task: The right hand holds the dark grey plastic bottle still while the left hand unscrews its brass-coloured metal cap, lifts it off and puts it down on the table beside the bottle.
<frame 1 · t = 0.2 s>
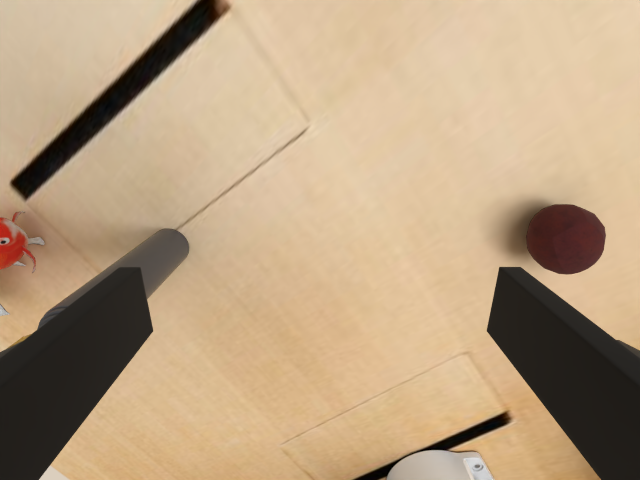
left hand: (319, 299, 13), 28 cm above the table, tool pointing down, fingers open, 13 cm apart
fish: (18, 254, 42), on the table
bottle: (170, 246, 42), on the table
dark red ball: (543, 227, 41), on the table
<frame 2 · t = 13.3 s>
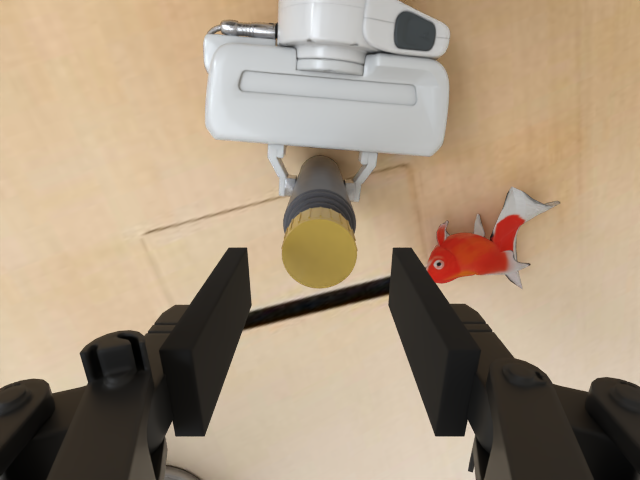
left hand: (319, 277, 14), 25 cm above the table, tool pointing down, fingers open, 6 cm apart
right hand: (319, 197, 32), fingers closed on bottle, 4 cm apart
fish: (475, 225, 40), on the table
bottle: (319, 176, 38), on the table, touching right hand
cap: (319, 252, 17), point 22 cm above the table, screwed on, not yet turned
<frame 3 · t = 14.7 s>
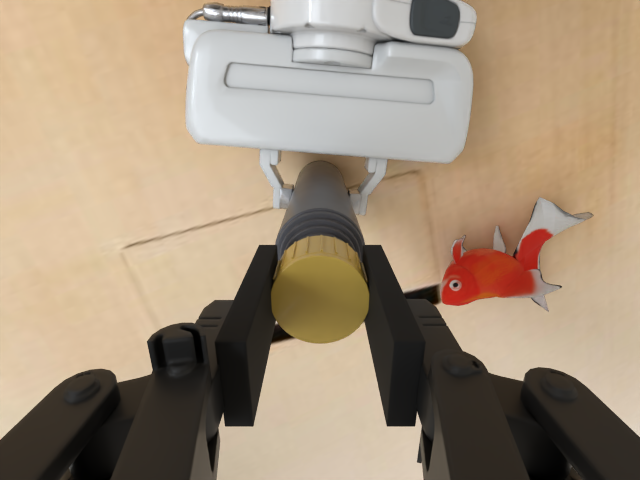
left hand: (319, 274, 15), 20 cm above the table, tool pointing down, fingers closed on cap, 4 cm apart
right hand: (319, 210, 28), fingers closed on bottle, 4 cm apart
fish: (493, 238, 36), on the table
bottle: (320, 184, 34), on the table, touching right hand
cap: (320, 298, 13), point 22 cm above the table, screwed on, not yet turned, touching left hand
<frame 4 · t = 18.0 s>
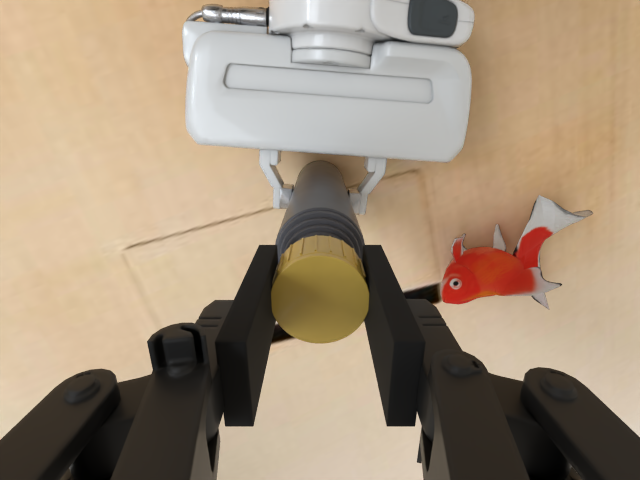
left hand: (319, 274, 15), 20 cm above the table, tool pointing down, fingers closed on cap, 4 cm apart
right hand: (319, 210, 28), fingers closed on bottle, 4 cm apart
fish: (493, 237, 36), on the table
bottle: (320, 183, 34), on the table, touching right hand
cap: (319, 297, 13), point 22 cm above the table, turned 109° so far, risen 0.1 cm, still on its thread, touching left hand
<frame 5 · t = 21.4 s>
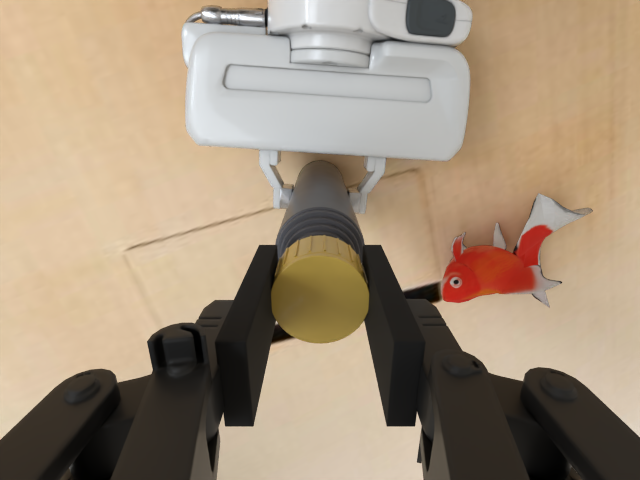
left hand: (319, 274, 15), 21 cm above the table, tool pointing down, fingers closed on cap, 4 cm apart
right hand: (319, 209, 28), fingers closed on bottle, 4 cm apart
fish: (493, 235, 36), on the table
bottle: (320, 183, 34), on the table, touching right hand
cap: (319, 297, 13), point 23 cm above the table, turned 218° so far, risen 0.2 cm, still on its thread, touching left hand
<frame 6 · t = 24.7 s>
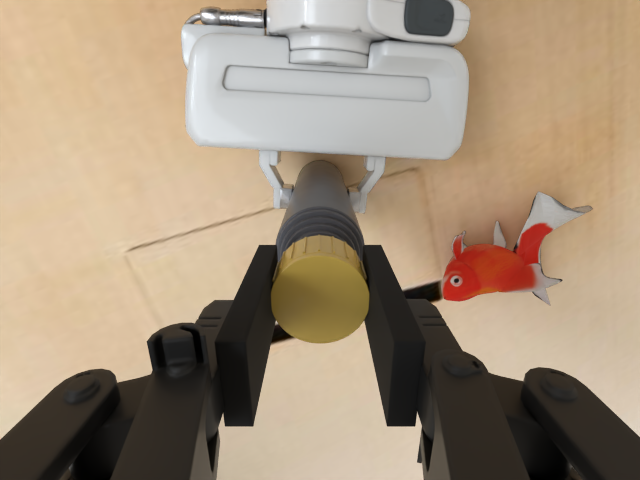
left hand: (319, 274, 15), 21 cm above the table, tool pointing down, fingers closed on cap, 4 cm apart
right hand: (319, 209, 28), fingers closed on bottle, 4 cm apart
fish: (494, 234, 36), on the table
bottle: (320, 183, 34), on the table, touching right hand
cap: (320, 297, 13), point 23 cm above the table, turned 327° so far, risen 0.3 cm, still on its thread, touching left hand
when the left hand's fingers open (2 cm above the table, at t = 31.1 s): cap drops 2 cm, point 2 cm above the table.
when the right hand's fingers open (7 cm above the table, at t = 32.4 s): bottle stays where it is, on the table.
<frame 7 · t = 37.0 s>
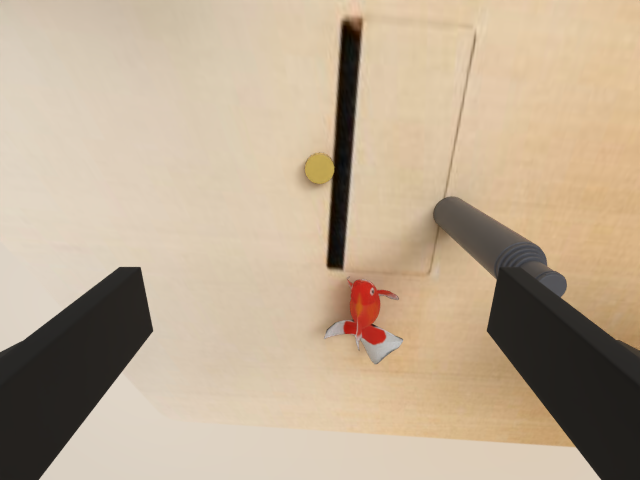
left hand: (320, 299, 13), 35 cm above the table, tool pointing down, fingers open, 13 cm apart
fish: (364, 308, 53), on the table
bottle: (449, 212, 48), on the table
cap: (319, 169, 44), point 2 cm above the table, off its thread
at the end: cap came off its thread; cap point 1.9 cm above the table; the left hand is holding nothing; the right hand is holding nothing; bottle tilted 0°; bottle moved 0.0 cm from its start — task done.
